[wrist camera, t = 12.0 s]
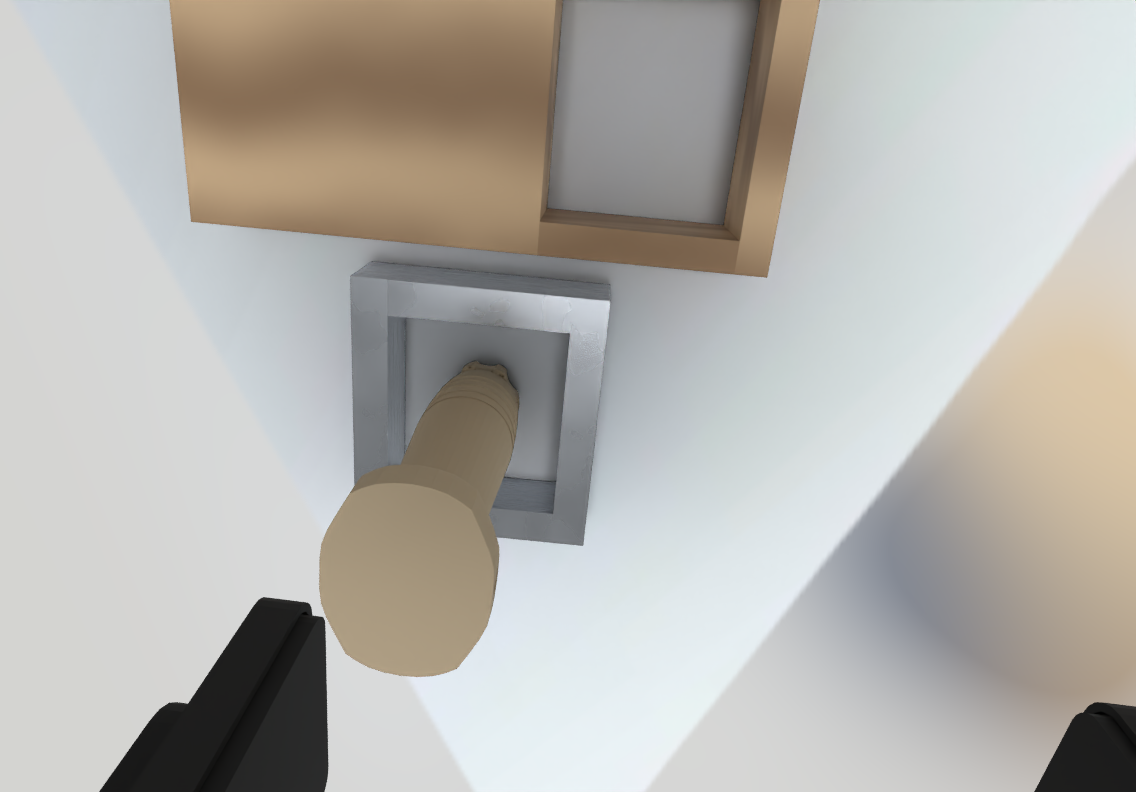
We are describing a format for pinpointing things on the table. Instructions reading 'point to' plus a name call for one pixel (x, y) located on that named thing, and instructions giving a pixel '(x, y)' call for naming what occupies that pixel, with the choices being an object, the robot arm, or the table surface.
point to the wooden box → (444, 128)
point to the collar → (492, 301)
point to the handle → (424, 535)
